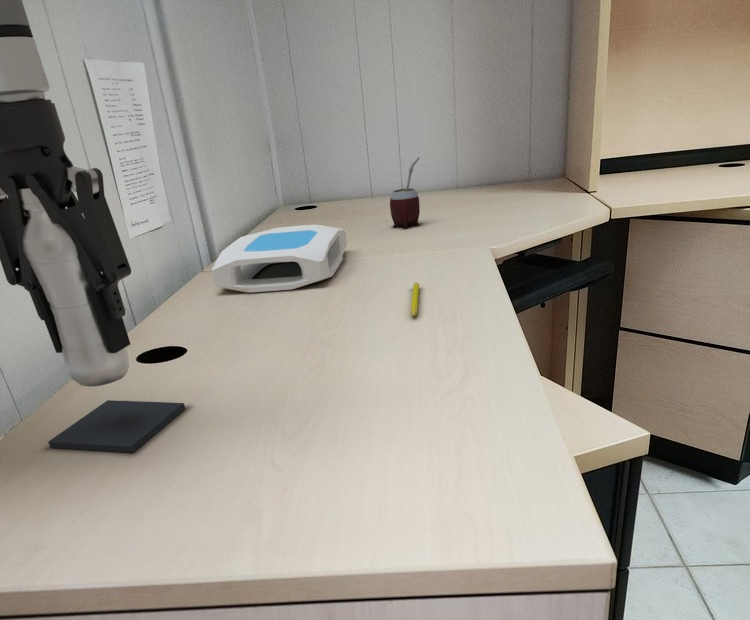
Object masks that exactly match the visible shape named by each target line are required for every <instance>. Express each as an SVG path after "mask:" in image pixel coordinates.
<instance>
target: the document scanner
mask: <svg viewBox="0 0 750 620" xmlns="http://www.w3.org/2000/svg"><path fill="white" fill-rule="evenodd" d="M346 235H347V234H346V230H345V229H344V228H340V227H333V226H328V225H321V224H304V225H294V226H293V225H291V226H281V227H274V228H271V229H266V230H262V231H259V232H254V233H249V234H246V235H243V236H240V237H238V238H237V239H235V241H233V242H231V244H229V245H228V246H226V247H225V248H224V249H223V250H222V251H220V254H219V255H218V257H217V259H216V261H215V262H214V264H213V267H212V268H211V269H210V271H211V275H212V280H213V283H214V286H215V287H216V288H220V289H225V290H231V291H232V290H233V291H237V292H243V293H260V292H275V291H289V290H295V289H299V288H301V287H305V286H307V285H310V284H314V283H318V282H321V281H324V280H327V279H331V278H332V277H333V276H334V274H335V273H336V271H337V270H338V268H339V267H340V265H341V264H342V262H343V260H344V253H345V250H346V247H347V236H346ZM291 262H293V263H294V262H295V263H297V265H299V268H300V269H301V274H300V275H295V276H282V277H270V278H258V279H256V278H254V277H255V275H257V274H258V273H259V272H260V271H261V270H262V269H265V268H266V267H267V266H269V265H273V264H282V263H291Z"/></svg>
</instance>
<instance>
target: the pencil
mask: <svg viewBox="0 0 750 620" xmlns="http://www.w3.org/2000/svg"><path fill="white" fill-rule="evenodd" d="M412 285H413V286H412V294H411V295H412V296H411V305H410V315H411V316H412V317H415V316H417V314H418V305H419V295H420V293H419V292H420V284H419V282H414V283H413V284H412Z"/></svg>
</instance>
